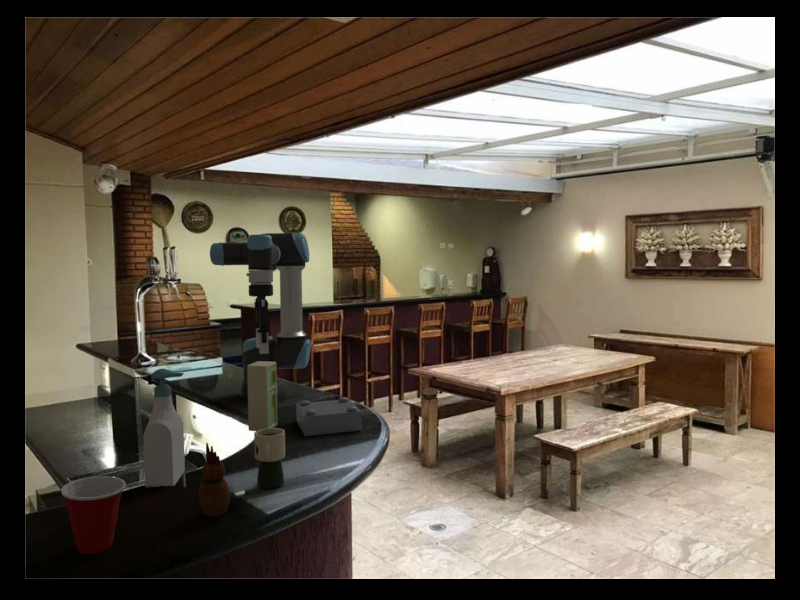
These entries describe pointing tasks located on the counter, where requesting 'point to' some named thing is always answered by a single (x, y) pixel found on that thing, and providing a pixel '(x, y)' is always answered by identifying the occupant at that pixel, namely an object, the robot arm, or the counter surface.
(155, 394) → the white spray bottle
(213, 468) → the wooden figurine
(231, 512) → the counter surface
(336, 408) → the base brick
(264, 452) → the character mug
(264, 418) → the toy refrigerator
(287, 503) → the counter surface
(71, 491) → the plastic cup
